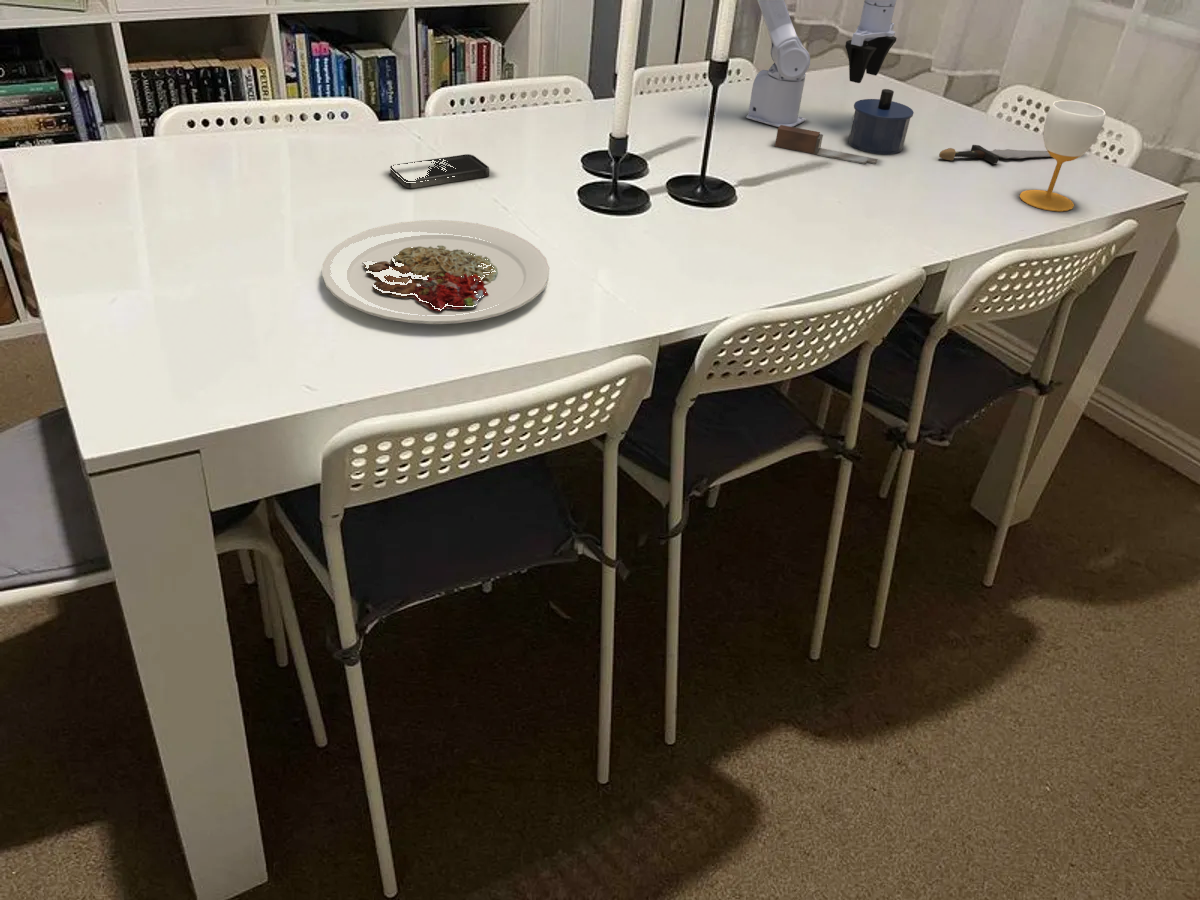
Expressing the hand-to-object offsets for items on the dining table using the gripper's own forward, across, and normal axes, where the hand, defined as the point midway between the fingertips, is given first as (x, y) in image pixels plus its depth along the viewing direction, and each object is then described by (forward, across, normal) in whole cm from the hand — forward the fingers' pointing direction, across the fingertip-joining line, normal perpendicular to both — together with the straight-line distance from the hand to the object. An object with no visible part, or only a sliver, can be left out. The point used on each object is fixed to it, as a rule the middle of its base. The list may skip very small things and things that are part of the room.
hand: (863, 78), depth 192 cm
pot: (+9, -7, -8) cm, 14 cm away
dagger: (+10, +7, -30) cm, 32 cm away
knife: (+9, -19, -3) cm, 22 cm away
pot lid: (+3, -7, -8) cm, 11 cm away
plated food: (+10, -105, +12) cm, 106 cm away
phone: (+9, -78, +38) cm, 87 cm away
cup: (+10, -11, -42) cm, 44 cm away
